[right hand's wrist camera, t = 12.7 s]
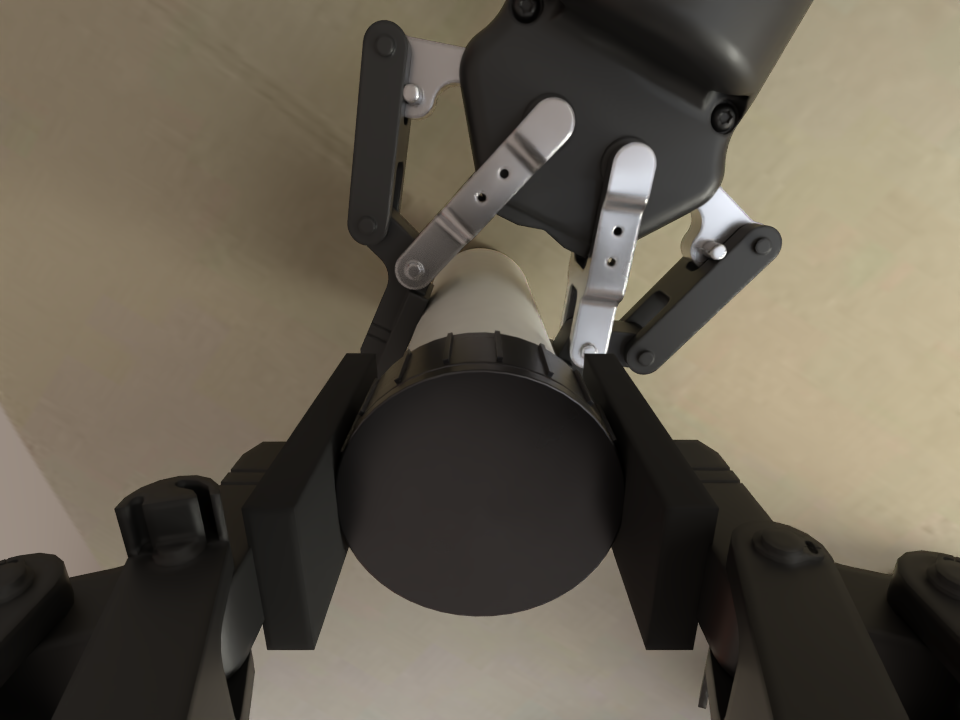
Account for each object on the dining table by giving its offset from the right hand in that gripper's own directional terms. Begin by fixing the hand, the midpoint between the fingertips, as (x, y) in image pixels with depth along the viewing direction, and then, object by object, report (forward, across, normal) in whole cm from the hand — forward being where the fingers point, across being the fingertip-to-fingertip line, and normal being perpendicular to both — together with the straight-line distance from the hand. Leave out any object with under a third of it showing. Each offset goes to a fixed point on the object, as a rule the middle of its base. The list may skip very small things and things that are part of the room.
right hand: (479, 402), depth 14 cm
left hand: (+5, -1, -2) cm, 5 cm away
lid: (-4, 0, 0) cm, 4 cm away
